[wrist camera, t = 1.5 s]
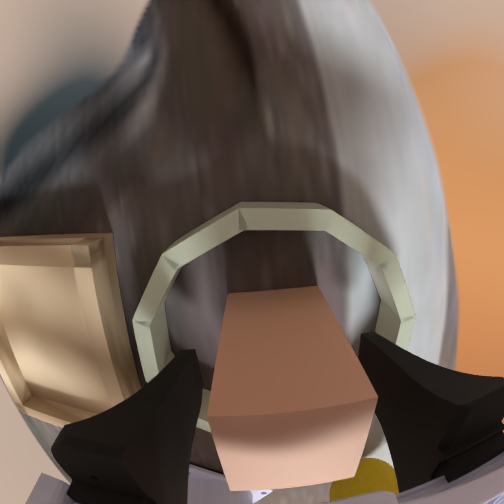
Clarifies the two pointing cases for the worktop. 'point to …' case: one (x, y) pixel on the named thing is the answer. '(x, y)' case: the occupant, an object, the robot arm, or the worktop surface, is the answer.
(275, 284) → the worktop surface
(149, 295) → the ceramic ring
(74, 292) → the birch tray
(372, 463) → the lemon
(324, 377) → the pink block
